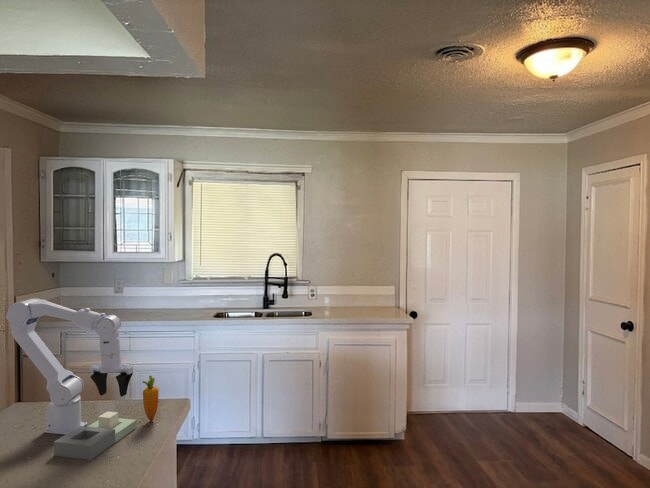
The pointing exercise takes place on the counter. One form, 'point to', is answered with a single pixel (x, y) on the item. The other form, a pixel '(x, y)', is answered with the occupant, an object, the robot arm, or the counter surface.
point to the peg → (108, 420)
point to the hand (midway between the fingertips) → (113, 394)
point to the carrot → (150, 398)
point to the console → (91, 439)
